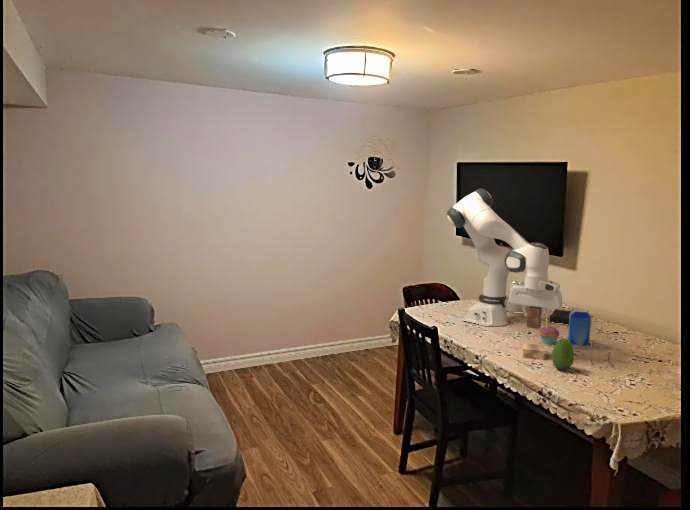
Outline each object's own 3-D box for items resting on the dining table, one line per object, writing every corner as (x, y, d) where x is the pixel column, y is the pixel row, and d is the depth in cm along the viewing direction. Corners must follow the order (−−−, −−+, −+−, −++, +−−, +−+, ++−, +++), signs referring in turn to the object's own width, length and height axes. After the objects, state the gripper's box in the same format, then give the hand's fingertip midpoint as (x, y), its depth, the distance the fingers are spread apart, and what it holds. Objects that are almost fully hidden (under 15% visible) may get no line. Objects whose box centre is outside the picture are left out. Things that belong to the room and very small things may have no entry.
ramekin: (532, 314, 283) (533, 301, 282) (507, 314, 283) (508, 301, 282) (524, 308, 296) (525, 296, 295) (501, 308, 297) (501, 296, 296)
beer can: (587, 344, 230) (590, 308, 228) (590, 349, 222) (592, 312, 220) (567, 342, 233) (569, 306, 231) (568, 347, 225) (570, 311, 223)
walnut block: (526, 327, 212) (527, 307, 211) (529, 324, 216) (530, 305, 215) (537, 329, 210) (539, 309, 209) (540, 326, 214) (541, 307, 213)
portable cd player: (586, 328, 257) (587, 320, 257) (549, 323, 266) (550, 315, 265) (590, 320, 271) (590, 313, 271) (554, 316, 280) (555, 309, 279)
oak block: (522, 358, 212) (523, 348, 212) (522, 352, 220) (523, 343, 219) (543, 360, 210) (544, 351, 209) (543, 354, 217) (543, 345, 217)
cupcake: (549, 346, 227) (550, 319, 225) (533, 341, 234) (535, 315, 233) (562, 343, 231) (564, 317, 229) (547, 338, 238) (548, 312, 237)
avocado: (577, 371, 197) (579, 340, 195) (560, 373, 195) (562, 342, 193) (563, 364, 204) (565, 334, 203) (546, 366, 202) (547, 336, 201)
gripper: (507, 282, 214) (506, 315, 216) (560, 287, 203) (558, 322, 204) (512, 279, 219) (510, 312, 221) (564, 285, 208) (562, 319, 210)
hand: (534, 317), depth 213 cm, fingers closed on walnut block, 4 cm apart
